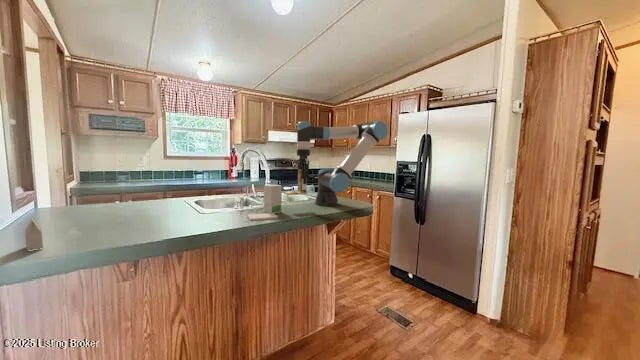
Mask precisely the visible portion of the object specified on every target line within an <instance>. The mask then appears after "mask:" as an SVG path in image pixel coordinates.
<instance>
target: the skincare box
mask: <svg viewBox="0 0 640 360" xmlns="http://www.w3.org/2000/svg"><path fill="white" fill-rule="evenodd" d="M282 189H283V188H282V185H280V184H264V185H263V214H265V213H274V214H279V213H282Z"/></svg>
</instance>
